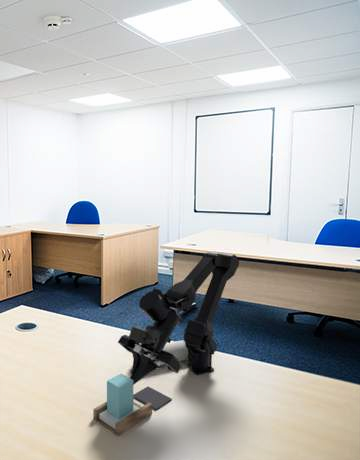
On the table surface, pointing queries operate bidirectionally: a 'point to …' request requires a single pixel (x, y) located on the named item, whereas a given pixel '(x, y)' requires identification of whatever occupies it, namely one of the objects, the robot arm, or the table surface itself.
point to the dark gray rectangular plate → (152, 397)
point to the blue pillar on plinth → (118, 400)
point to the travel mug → (177, 350)
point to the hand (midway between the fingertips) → (131, 383)
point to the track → (126, 421)
